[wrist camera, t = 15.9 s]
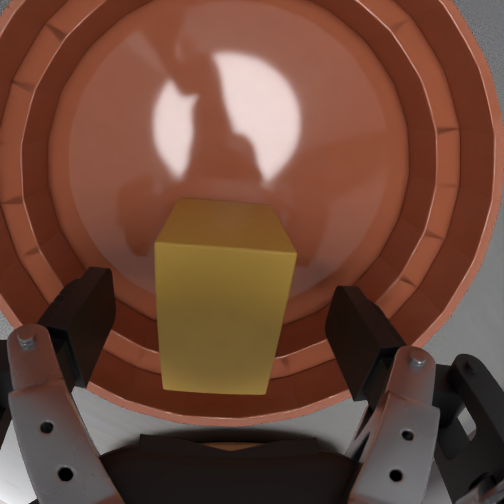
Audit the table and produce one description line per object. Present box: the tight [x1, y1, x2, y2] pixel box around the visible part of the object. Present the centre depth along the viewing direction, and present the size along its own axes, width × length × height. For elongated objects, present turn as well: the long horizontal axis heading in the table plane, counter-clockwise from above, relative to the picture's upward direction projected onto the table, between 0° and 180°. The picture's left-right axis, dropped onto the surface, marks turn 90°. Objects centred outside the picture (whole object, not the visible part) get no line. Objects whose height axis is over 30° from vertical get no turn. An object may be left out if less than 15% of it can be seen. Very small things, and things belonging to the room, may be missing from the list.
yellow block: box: [154, 198, 297, 395], centre depth 11 cm, size 6×4×4 cm, turn 173°
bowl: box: [0, 0, 504, 426], centre depth 9 cm, size 19×19×4 cm
